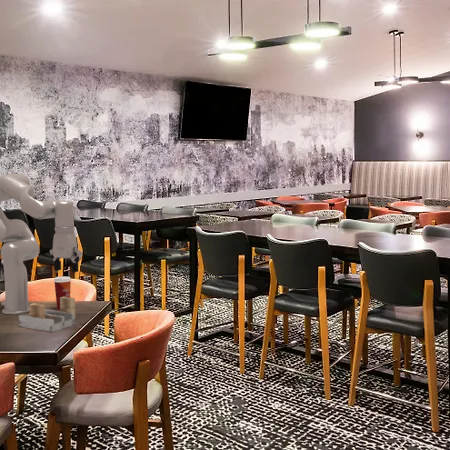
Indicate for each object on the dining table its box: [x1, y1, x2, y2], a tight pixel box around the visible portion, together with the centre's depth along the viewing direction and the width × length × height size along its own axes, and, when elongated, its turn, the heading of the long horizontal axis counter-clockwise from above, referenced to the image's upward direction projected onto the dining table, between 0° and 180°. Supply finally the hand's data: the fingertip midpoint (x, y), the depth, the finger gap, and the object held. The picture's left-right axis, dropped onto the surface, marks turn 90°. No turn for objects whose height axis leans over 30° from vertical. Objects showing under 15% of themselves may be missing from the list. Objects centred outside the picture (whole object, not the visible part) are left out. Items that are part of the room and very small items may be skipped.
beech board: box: [60, 296, 76, 320], centre depth 253 cm, size 6×2×9 cm, turn 61°
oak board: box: [29, 303, 46, 319], centre depth 241 cm, size 6×2×9 cm, turn 61°
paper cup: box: [53, 276, 72, 311], centre depth 271 cm, size 8×8×14 cm
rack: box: [18, 308, 75, 333], centre depth 242 cm, size 18×12×5 cm
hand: (66, 271), depth 251 cm, fingers open, 9 cm apart
